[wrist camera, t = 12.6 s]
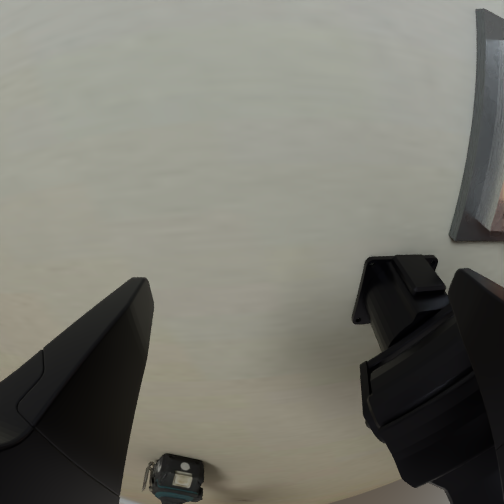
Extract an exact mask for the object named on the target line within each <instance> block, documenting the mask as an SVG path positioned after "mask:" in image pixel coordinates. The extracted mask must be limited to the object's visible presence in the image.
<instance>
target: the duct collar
mask: <svg viewBox="0 0 504 504" xmlns="http://www.w3.org/2000/svg"><path fill="white" fill-rule="evenodd" d="M476 25H477V70H476V88H475V101H474V111H473V120H472V128H471V135H470V142H469V148H468V154H467V160H466V165H465V170H464V175H463V180H462V185H461V189H460V194H459V198H458V202H457V206H456V210H455V214H454V218H453V221H452V225H451V229H450V232H449V235H450V236H451V237H452V238H453V239H454V240H455V241H504V19H503V18H501V17H499V16H497V15H495V14H494V13H492V12H490V11H488V10H486V9H476Z"/></svg>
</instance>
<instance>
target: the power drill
mask: <svg viewBox="0 0 504 504" xmlns="http://www.w3.org/2000/svg"><path fill="white" fill-rule="evenodd" d="M151 465H154V466H153V468H151V467H150V466H151ZM149 470H151V473H150V480H149V484H150V486H149V490H150V492H152V493H153V494H154V495H155V496H156V497H157V498H158V499H160V500H161V502H162V504H183V503H185V502H189V501H191V502H198V501H200V500H202V496H203V488H201V487H200V486H201V484H202V483H203V482H204V464H203V463H202V462H201V461H198V460H194V459H189V458H184V457H180V456H175V455H170V454H164V455H162V456H161V458H160V459H159V460H158V461H157V463H156V464H154V462H150V463H149V465H148V467H147V468H146V472H145V477H144V482H143V488H142V491H143V490H144V489H145V487H146V482H147V478H148V473H149ZM146 474H147V475H146ZM144 485H145V486H144Z"/></svg>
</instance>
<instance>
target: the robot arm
mask: <svg viewBox="0 0 504 504" xmlns="http://www.w3.org/2000/svg"><path fill="white" fill-rule="evenodd" d="M432 261H433V262H432ZM373 262H374V263H373ZM371 263H373V264H372V265H370V264H371ZM437 264H438V259H437V258H436V257H435V256H434V255H395V256H378V257H369V258H367V260H366V261H365V264H364V269H363V273H362V277H361V282H360V286H359V290H358V294H357V298H356V302H355V306H354V310H353V314H352V321H353V323H354V324H369V323H371V326H372V328H373V331H374V333H375V335H376V338H377V340H378V343H379V346H380V348H381V351H382V353H380V354H378V355H377V356H375V357H374V358H372V359H371V360H369V361H365V362H364V363H362V364H360V374H361V375H360V379H361V392H362V406H363V416H364V418H365V423H366V426H367V427H368V428H370V429H371V430H372V432H373V433H374V435H375V436H376V437H377V438H378V439H379V440H380V441H381V442H383V443H385V444H386V445H387V447H388V449H389V450H390V452H391V454H392V456H393V458H394V460H395V463H396V465H397V468H398V470H399V473H400V475H401V478H402V479H403V480H404V481H405V482H407V483H408V484H409V485H411V486H412V487H414V488H417V487H419V486H422V485H424V484H426V483H430V484H432V485H434V486H437V487H439V488H441V489H443V490H444V491H445V493H446V495H447V497H448V499H449V501H450V504H504V288H503V287H502V286H500V285H498V284H496V283H495V282H493V281H491V280H489V279H488V278H486V277H484V276H482V275H480V274H478V273H477V272H475V271H473V270H471V269H469V268H462V269H458V270H457V271H456V273H455V275H454V278H453V280H452V283H451V285H450V288H449V291H448V295H447V293H446V292H445V289H446V286H445V285H444V283H443V282H442V280H441V279H440V278H439V276H438V275H437V274H436V272H435V269H436V266H437ZM153 312H154V301H153V297H152V293H151V289H150V285H149V281H148V280H147V278H145V277H133V278H131V279H129V280H128V281H127V282H125V283H124V284H123V285H122V286H120V287H119V288H118V289H116V290H115V291H114V292H112V293H111V294H110V295H109V296H107V297H106V298H105V299H103V300H102V301H101V302H100V303H98V304H97V305H96V306H94V307H93V308H92V309H91V310H89V311H88V312H87V313H86V314H84V315H83V316H82V317H81V318H79V319H78V320H77V321H76V322H74V323H73V324H72V325H71V326H69V327H68V328H67V329H66V330H64V331H63V332H62V333H61V334H59V335H58V336H57V337H56V338H55V339H53V340H52V341H51V342H50V343H49V344H47V345H46V346H45V347H44V348H43V350H40V351H39V352H38V353H37V354H35V355H34V356H33V357H32V358H31V359H29V360H28V361H27V362H26V363H24V364H23V365H22V366H21V367H20V368H18V369H17V370H16V371H14V372H13V373H12V374H11V375H9V376H8V377H7V378H5V379H4V380H3V381H1V382H0V504H119V499H120V497H119V496H120V491H121V485H122V478H123V472H124V466H125V461H126V455H127V450H128V444H129V439H130V434H131V429H132V424H133V419H134V414H135V409H136V405H137V400H138V396H139V391H140V387H141V382H142V378H143V374H144V370H145V366H146V361H147V356H148V349H149V341H150V333H151V326H152V319H153ZM357 318H358V319H357Z"/></svg>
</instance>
